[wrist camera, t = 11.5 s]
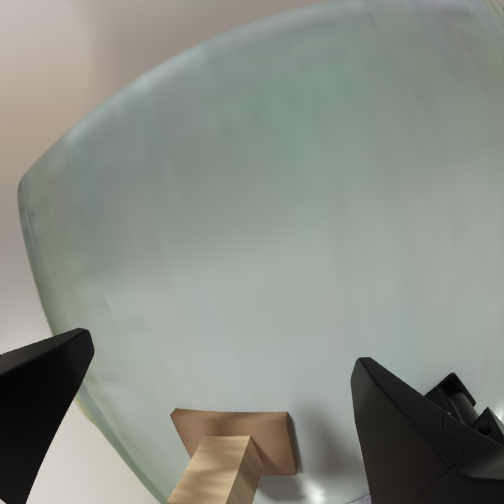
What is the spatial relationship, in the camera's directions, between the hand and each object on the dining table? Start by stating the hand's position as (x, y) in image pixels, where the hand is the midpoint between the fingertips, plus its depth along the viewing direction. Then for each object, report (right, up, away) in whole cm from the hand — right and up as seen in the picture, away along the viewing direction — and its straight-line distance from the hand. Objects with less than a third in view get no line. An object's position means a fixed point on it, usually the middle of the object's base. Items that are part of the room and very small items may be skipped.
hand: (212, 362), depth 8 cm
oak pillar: (-1, -17, +15) cm, 23 cm away
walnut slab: (0, -17, +17) cm, 24 cm away
